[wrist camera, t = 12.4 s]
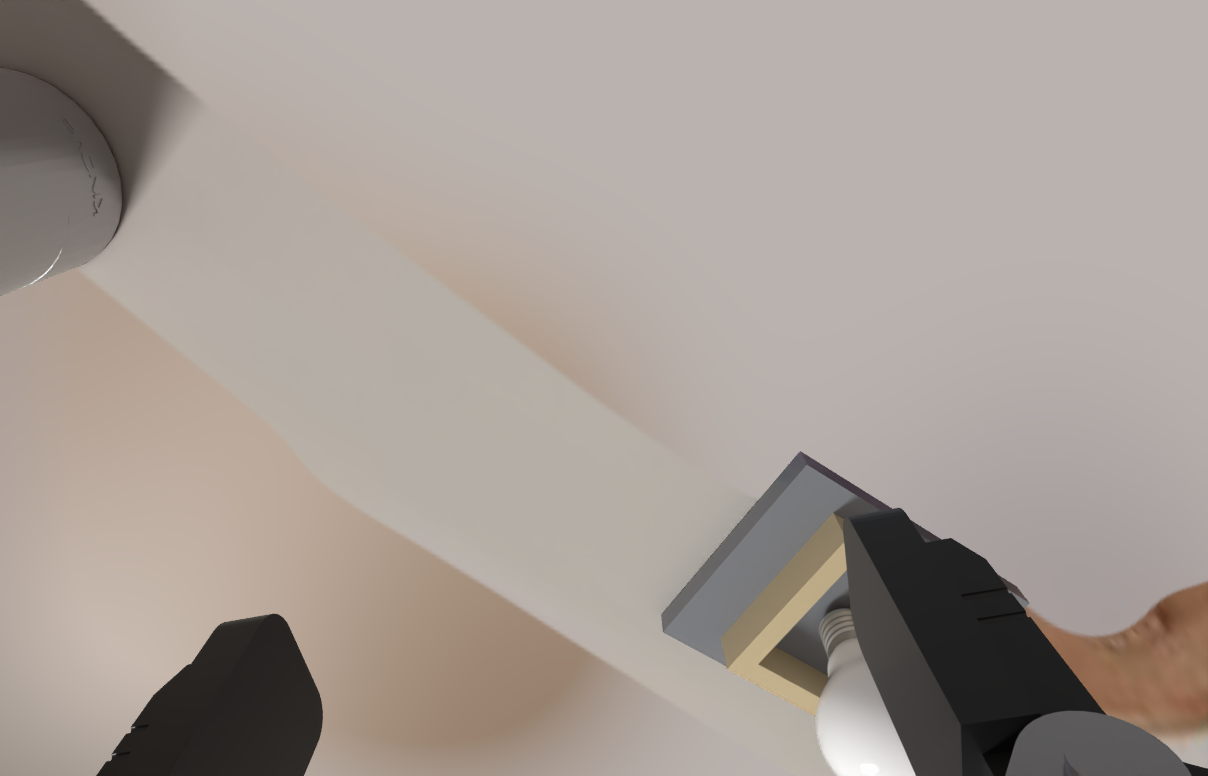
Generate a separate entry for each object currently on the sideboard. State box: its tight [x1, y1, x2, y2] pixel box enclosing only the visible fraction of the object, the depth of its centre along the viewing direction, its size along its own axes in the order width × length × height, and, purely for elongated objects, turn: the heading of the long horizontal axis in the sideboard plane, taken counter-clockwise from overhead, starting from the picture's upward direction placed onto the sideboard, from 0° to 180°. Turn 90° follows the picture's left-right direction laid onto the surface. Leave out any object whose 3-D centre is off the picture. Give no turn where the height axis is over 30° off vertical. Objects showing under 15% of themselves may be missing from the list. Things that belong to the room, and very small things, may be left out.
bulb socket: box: [661, 452, 1029, 717], centre depth 43 cm, size 16×13×4 cm
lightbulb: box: [816, 608, 916, 776], centre depth 39 cm, size 6×6×11 cm
